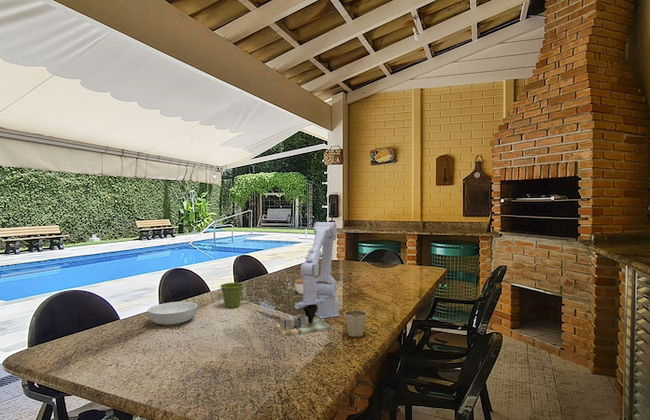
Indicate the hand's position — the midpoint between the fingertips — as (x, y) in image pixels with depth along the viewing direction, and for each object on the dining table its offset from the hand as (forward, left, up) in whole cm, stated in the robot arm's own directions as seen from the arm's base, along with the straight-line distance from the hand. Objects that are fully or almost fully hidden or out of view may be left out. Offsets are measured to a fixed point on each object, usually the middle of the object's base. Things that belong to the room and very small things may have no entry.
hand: (310, 322), depth 161 cm
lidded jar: (-16, -61, -2) cm, 63 cm away
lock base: (+3, 0, -2) cm, 4 cm away
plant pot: (+27, -47, -2) cm, 54 cm away
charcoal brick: (+6, 0, -1) cm, 6 cm away
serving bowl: (+55, -31, -2) cm, 63 cm away
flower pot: (-14, +15, -2) cm, 21 cm away
